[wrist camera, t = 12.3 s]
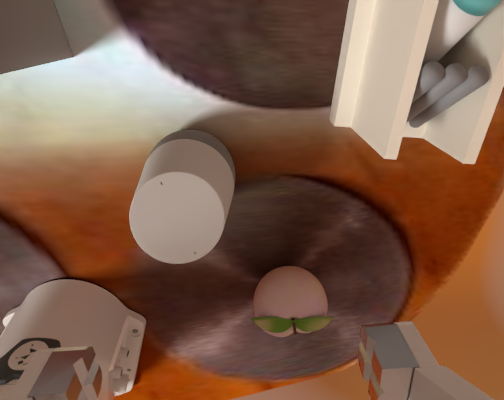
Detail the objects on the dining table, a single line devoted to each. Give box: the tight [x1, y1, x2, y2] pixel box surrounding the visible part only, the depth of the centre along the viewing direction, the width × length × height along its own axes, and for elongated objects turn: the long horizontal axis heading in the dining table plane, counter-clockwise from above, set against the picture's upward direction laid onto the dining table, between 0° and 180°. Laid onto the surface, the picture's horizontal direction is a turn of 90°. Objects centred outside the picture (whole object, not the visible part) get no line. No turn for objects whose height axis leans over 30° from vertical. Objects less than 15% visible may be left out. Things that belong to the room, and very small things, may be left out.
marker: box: [421, 0, 502, 68], centre depth 29 cm, size 3×3×11 cm
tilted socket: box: [329, 0, 504, 164], centre depth 32 cm, size 14×11×12 cm
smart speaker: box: [129, 130, 235, 264], centre depth 35 cm, size 10×9×14 cm
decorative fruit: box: [252, 266, 333, 337], centre depth 44 cm, size 9×8×10 cm
